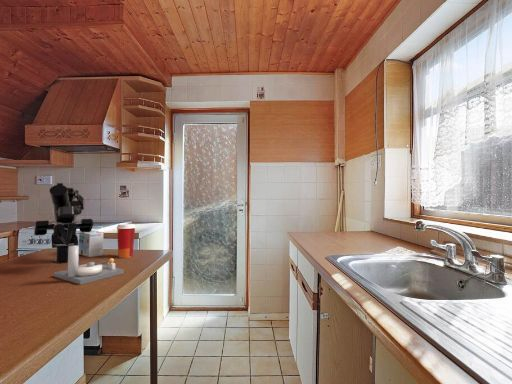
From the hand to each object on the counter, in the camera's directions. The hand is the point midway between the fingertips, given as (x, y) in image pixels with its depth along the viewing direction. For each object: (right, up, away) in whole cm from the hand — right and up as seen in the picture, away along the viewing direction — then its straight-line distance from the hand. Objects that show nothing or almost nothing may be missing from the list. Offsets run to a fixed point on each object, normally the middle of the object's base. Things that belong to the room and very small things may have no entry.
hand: (67, 244), depth 110 cm
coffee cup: (+9, -11, +28) cm, 31 cm away
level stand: (+10, -11, -2) cm, 15 cm away
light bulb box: (-8, -10, +31) cm, 33 cm away
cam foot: (+11, -9, -4) cm, 15 cm away
